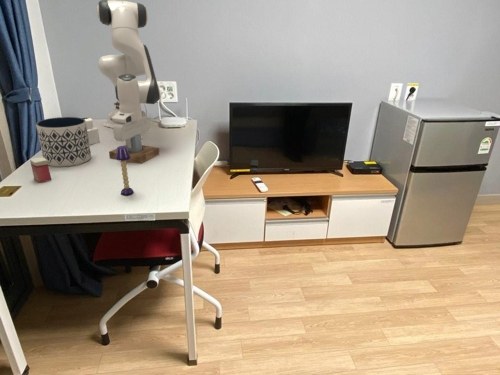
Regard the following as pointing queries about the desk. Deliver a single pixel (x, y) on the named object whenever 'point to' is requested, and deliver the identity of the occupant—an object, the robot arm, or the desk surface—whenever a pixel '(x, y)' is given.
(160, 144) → the desk surface
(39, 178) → the small box
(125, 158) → the toy lamp
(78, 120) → the planter
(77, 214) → the desk surface
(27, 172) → the desk surface
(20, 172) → the desk surface
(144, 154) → the wooden socket board
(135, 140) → the key block
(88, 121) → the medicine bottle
